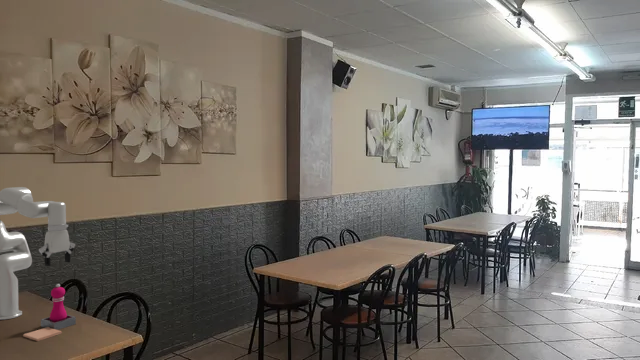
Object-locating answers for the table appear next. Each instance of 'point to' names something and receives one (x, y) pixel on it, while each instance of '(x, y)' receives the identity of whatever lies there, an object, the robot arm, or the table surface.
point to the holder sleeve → (60, 324)
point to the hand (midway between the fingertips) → (57, 263)
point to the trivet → (42, 334)
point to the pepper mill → (58, 304)
